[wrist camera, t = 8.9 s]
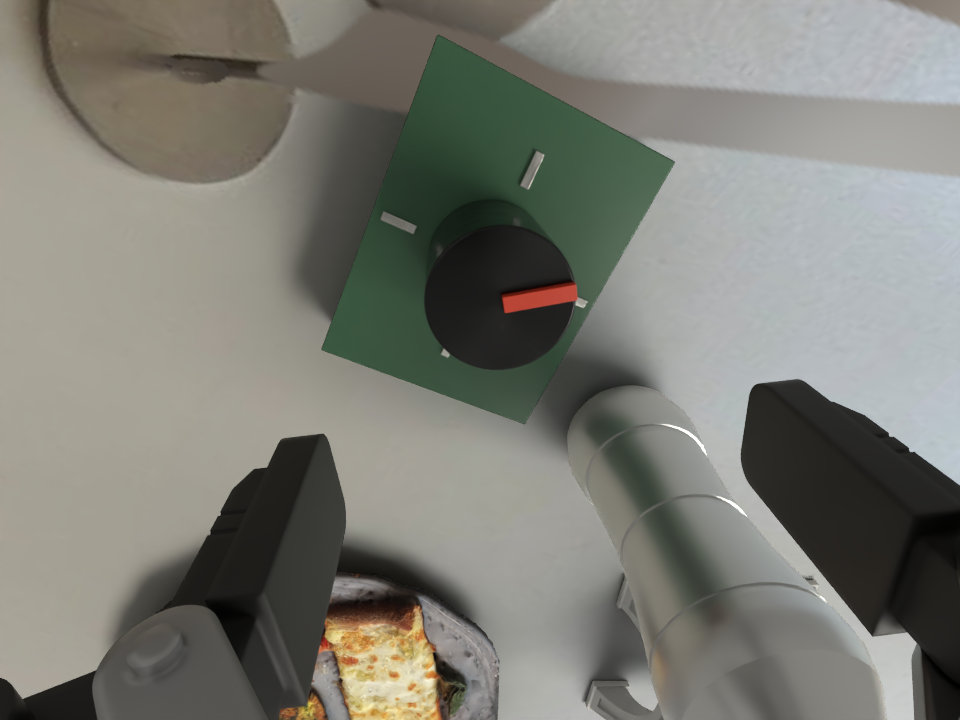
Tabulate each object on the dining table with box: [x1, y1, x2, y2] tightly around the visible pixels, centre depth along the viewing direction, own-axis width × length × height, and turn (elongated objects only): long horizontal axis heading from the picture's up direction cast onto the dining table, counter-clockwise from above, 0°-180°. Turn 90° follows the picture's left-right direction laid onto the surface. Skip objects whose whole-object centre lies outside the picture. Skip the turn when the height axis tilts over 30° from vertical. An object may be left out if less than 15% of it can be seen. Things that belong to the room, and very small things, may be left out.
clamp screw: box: [424, 199, 578, 370], centre depth 19 cm, size 5×5×5 cm
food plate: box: [156, 572, 499, 720], centre depth 35 cm, size 25×23×4 cm
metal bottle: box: [567, 385, 887, 720], centre depth 20 cm, size 6×7×20 cm
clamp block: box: [322, 35, 675, 424], centre depth 23 cm, size 13×10×3 cm
